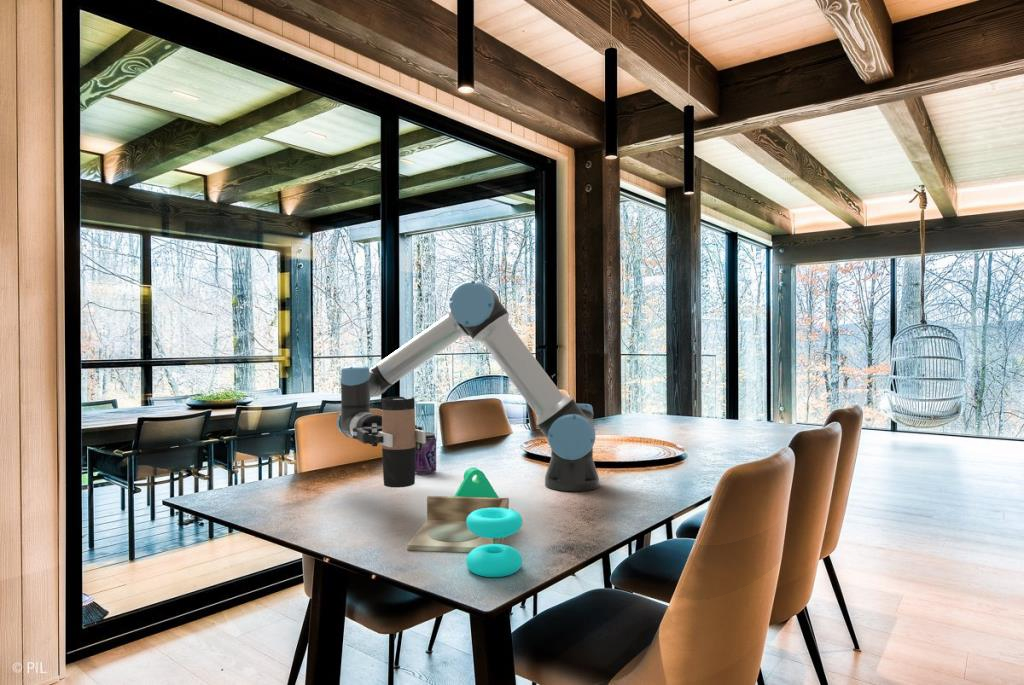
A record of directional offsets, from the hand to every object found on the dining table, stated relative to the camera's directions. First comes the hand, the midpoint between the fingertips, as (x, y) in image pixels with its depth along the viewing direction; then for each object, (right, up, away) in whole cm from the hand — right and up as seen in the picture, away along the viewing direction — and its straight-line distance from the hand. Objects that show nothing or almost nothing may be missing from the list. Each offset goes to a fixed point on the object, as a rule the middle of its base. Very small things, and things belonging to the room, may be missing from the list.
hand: (407, 439), depth 139 cm
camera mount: (+14, -19, +10) cm, 25 cm away
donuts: (+20, -19, -29) cm, 40 cm away
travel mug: (-3, -11, +4) cm, 12 cm away
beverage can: (-3, -18, +50) cm, 54 cm away
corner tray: (+13, -18, -11) cm, 25 cm away
